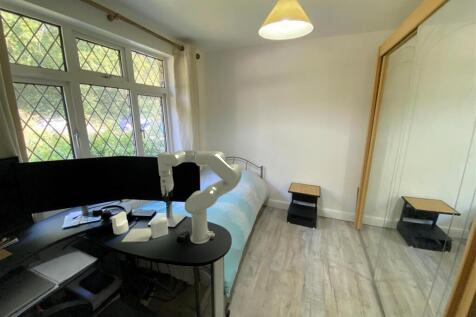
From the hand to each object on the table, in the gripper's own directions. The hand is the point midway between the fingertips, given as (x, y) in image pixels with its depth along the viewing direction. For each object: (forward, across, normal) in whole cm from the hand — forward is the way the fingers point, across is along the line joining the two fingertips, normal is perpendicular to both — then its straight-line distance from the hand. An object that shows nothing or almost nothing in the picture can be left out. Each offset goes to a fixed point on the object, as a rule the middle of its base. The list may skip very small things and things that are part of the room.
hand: (168, 198), depth 125 cm
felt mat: (+26, +1, +22) cm, 34 cm away
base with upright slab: (+26, +7, +37) cm, 45 cm away
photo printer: (+26, 0, +8) cm, 27 cm away
